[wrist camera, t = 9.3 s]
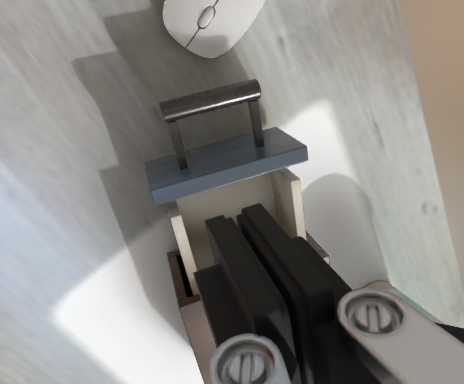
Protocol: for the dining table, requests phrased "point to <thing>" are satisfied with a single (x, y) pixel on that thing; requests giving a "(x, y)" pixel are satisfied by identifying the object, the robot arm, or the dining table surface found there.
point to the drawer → (225, 174)
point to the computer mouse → (209, 23)
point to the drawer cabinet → (202, 310)
